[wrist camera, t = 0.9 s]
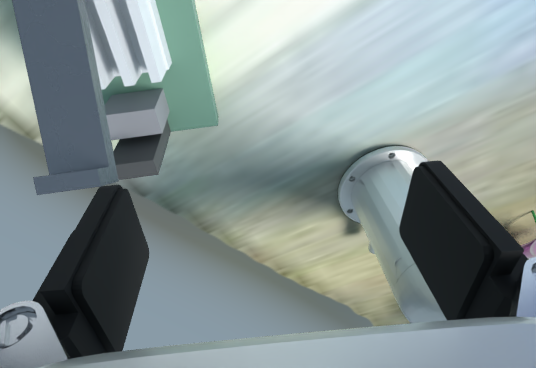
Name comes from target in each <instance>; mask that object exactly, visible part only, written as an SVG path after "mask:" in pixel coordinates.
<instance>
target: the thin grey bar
mask: <svg viewBox="0 0 536 368" xmlns="http://www.w3.org/2000/svg"><path fill="white" fill-rule="evenodd" d="M12 2H13V7H14V12H15V16H16V21H17V26H18V30H19V35H20V40H21V44H22V49H23V54H24V58H25V63H26V68H27V72H28V77H29V82H30V86H31V91H32V96H33V100H34V105H35V110H36V114H37V119H38V124H39V128H40V133H41V138H42V142H43V147H44V151H45V156H46V161H47V165H48V170H49V175H46V176H39V177H33V178H34V184H35V188H36V193H37V195H39V194H47V193H55V192H63V191H70V190H77V189H85V188H92V187H100V186H104V185H107V184H111V183H115V182H118V181H119V180H118V175H117V169H116V164H115V159H114V154H113V148H112V143H111V138H110V132H109V127H108V122H107V116H106V111H105V106H104V101H103V95H102V90H101V85H100V79H99V74H98V69H97V64H96V58H95V53H94V48H93V42H92V37H91V32H90V27H89V21H88V16H87V11H86V5H85V0H12Z"/></svg>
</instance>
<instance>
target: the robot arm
mask: <svg viewBox="0 0 536 368" xmlns="http://www.w3.org/2000/svg"><path fill="white" fill-rule="evenodd" d="M338 200H339V203H340V206H341V208H342V210H343V212H344V213H345V214H346V215H347V216H348V217H349V218H350V219H352V220H353V221H356V222H358V223H361V224H362V226H363V228H364V230H365V233H366V235H367V237H368V239H369V247H368V249H369V251H370V252H371V253H373V254H375V255H376V257H377V259H378V261H379V263H380V266H381V268H382V270H383V272H384V274H385V276H386V279H387V281H388V283H389V285H390V287H391V290H392V292H393V294H394V296H395V298H396V301H397V303H398V305H399V307H400V309H401V311H402V313H403V314H404V316H405V317H406V318H407V319H408V321H409V322H410V324H399V325H387V326H376V327H365V328H353V329H342V330H331V331H320V332H309V333H298V334H289V335H277V336H266V337H255V338H246V339H236V340H224V341H214V342H204V343H194V344H183V345H173V346H163V347H154V348H145V349H136V350H128V351H122V350H123V347H124V343H125V340H126V336H127V333H128V329H129V326H130V322H131V319H132V315H133V312H134V308H135V305H136V301H137V297H138V294H139V290H140V287H141V283H142V280H143V277H144V273H145V270H146V266H147V262H148V259H149V248H148V245H147V242H146V239H145V236H144V234H143V231H142V228H141V225H140V223H139V219H138V217H137V214H136V211H135V208H134V205H133V203H132V200H131V197H130V194H129V192H128V190H127V189H123V188H122V187H121V186H120V185H112V186H101V187H100V188H99V189H98V190H97V192H96V194H95V196H94V198H93V199H92V201H91V203H90V205H89V206H88V208H87V210H86V211H85V213H84V215H83V217H82V218H81V220H80V222H79V224H78V225H77V227H76V229H75V230H74V231H73V232H72V234H71V235H70V237H69V238H68V240H67V242H66V244H65V245H64V247H63V249H62V251H61V252H60V254H59V256H58V257H57V259H56V261H55V263H54V265H53V266H52V268H51V270H50V271H49V273H48V275H47V277H46V278H45V280H44V282H43V283H42V285H41V287H40V289H39V290H38V292H37V294H36V296H35V297H34V299H33V301H22V302H17V303H14V304H11V305H9V306H7V307H5V308H2V309H1V310H0V368H536V257H533V258H530V259H528V258H527V257H526V256H525V255H524V254H523V252H524V249H523V248H522V247H521V246H520V245H519V244H518V243H517V242H516V240H515V239H514V238H513V237H512V236H511V235H510V234H509V233H508V232H507V231H506V230H505V229H504V228H503V227H502V226H501V224H500V223H499V222H498V221H497V220H496V219H495V218H494V217H493V216H492V215H491V214H490V213H489V212H488V211H487V210H486V208H485V207H484V206H483V205H482V204H481V203H480V202H479V201H478V200H477V199H476V198H475V197H474V196H473V195H472V194H471V192H470V191H469V190H468V189H467V188H466V187H465V186H464V185H463V184H462V183H461V182H460V181H459V180H458V179H457V178H456V176H455V175H454V174H453V173H452V172H451V171H450V170H449V169H448V168H447V167H446V166H445V165H444V164H443V163H442V162H441V161H428V160H427V159H426V157H425V156H424V155H422V154H421V153H420V152H418V151H417V150H415V149H412V148H409V147H404V146H391V147H385V148H381V149H377V150H375V151H372V152H370V153H368V154H366V155H365V156H363V157H361V158H360V159H358V160H357V161H356V162H355V163H354V164H352V165H351V167H350V168H349V169H348V170H347V171H346V172H345V174H344V176H343V177H342V179H341V182H340V184H339V188H338Z"/></svg>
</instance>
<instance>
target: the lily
mask: <svg viewBox="0 0 536 368" xmlns="http://www.w3.org/2000/svg"><path fill="white" fill-rule="evenodd" d="M531 212H532V214H533V217H534V219H535V222H536V215H535V213H534V211H531ZM520 246H521V247H522V248H523V249H524V252H523V254H524V255H525V256H526V257H527V258H528V259H530V258H533V257H536V239H534V240H532V241H531V242H528V243H526V244H523V245H520Z"/></svg>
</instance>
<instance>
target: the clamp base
mask: <svg viewBox="0 0 536 368" xmlns="http://www.w3.org/2000/svg"><path fill="white" fill-rule="evenodd" d="M85 5H86V11H87V16H88V21H89V27H90V32H91V37H92V42H93V48H94V53H95V58H96V64H97V69H98V74H99V79H100V85H101V90H102V95H103V101H104V106H105V111H106V116H107V122H108V127H109V132H110V138H111V140H117V139H120V140H119V142H118V144H117V146H116V148H115V150H114V152H113V154H114V159H115V164H116V169H117V175H118V180H121V179H129V178H136V177H143V176H151V175H158V174H159V170H160V167H161V163H162V160H163V157H164V153H165V150H166V146H167V143H168V139H169V136H170V132H172V131H179V130H187V129H194V128H202V127H210V126H217V125H218V113H217V109H216V104H215V99H214V94H213V89H212V84H211V79H210V74H209V70H208V65H207V60H206V55H205V50H204V45H203V40H202V35H201V31H200V26H199V21H198V16H197V11H196V6H195V1H194V0H85Z"/></svg>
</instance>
